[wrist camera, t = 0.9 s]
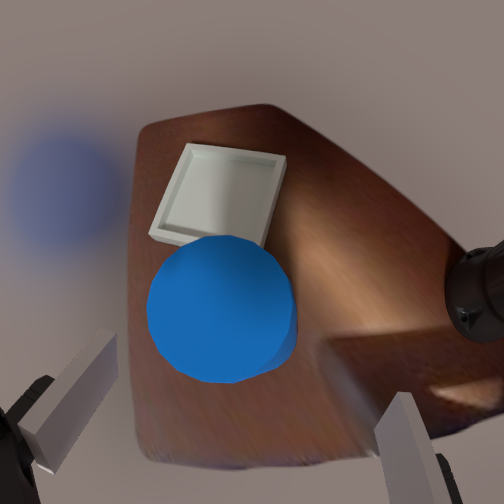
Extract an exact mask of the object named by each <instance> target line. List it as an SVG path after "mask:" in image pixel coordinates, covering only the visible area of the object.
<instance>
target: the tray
mask: <svg viewBox="0 0 504 504" xmlns="http://www.w3.org/2000/svg"><path fill="white" fill-rule="evenodd" d="M286 167H287V164H286V156H282V155H276V154H270V153H263V152H256V151H249V150H242V149H234V148H226V147H217V146H209V145H199V144H189V143H187V145H186V147H185V149H184V151H183V153H182V155H181V158H180V160H179V162H178V164H177V166H176V169H175V171H174V173H173V175H172V178H171V180H170V182H169V184H168V187H167V189H166V191H165V194H164V196H163V199H162V201H161V203H160V206H159V208H158V211H157V213H156V216H155V218H154V221H153V223H152V226H151V228H150V231H149V233H148V234H149V235H150V236H151V237H152V238H154V239H155V240H156V241H160V242H164V243H168V244H173V245H177V246H181V247H182V246H183V245H185V244H188V243H190V242H193V241H195V240H198V239H200V238H202V237H205V236H217V235H232V236H236V237H239V238H243V239H246V240H250V241H253V242H255V243H256V244H257V245H259V246H260V247H261V248H264V244H265V241H266V237H267V234H268V230H269V227H270V223H271V220H272V216H273V213H274V209H275V206H276V202H277V199H278V195H279V192H280V188H281V185H282V181H283V178H284V174H285V170H286Z"/></svg>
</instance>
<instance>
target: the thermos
mask: <svg viewBox="0 0 504 504" xmlns="http://www.w3.org/2000/svg"><path fill="white" fill-rule="evenodd" d="M147 316H148V326H149V331H150V334H151V336H152V338H153V340H154V342H155V344H156V346H157V348H158V351H159V353H160V354H161V355H162V356H163V357H164V358H165V359H166V360H167V361H168V362H169V363H170V364H171V365H172V366H173V367H174V368H176V369H177V370H178V371H180V372H182V373H184V374H187V375H189V376H191V377H193V378H196V379H198V380H201V381H204V382H213V383H236V382H239V381H242V380H245V379H248V378H251V377H253V376H256V375H259V374H262V373H264V372H267V371H270V370H272V369H275V368H277V367H279V366H280V365H281V364H282V363H283V362H285V361H286V360H287V359H288V358H289V356H290V355H291V353H292V351H293V349H294V348H295V346H296V340H297V334H298V325H297V309H296V304H295V299H294V294H293V290H292V285H291V282H290V280H289V279H288V277H287V276H286V274H285V273H284V271H283V270H282V268H281V267H280V265H279V263H278V262H277V261H276V259H275V258H274V257H273V256H272V255H271V254H269V253H268V252H267V251H265V250H264V249H263V248H261V247H260V246H259V245H257V244H256V243H255V242H253V241H250V240H246V239H243V238H239V237H236V236H232V235H217V236H205V237H202V238H200V239H198V240H195V241H193V242H190V243H188V244H185V245H183V246H182V247H181V248H180V249H178V250H177V251H176V252H175V253H174V254H173V255H171V256H170V257H169V258H168V259H167V260H166V261H165V262H164V263H163V265H162V266H161V268H160V270H159V271H158V273H157V275H156V276H155V278H154V280H153V281H152V284H151V288H150V293H149V297H148V302H147Z"/></svg>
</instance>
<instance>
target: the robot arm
mask: <svg viewBox="0 0 504 504" xmlns="http://www.w3.org/2000/svg"><path fill="white" fill-rule="evenodd" d="M445 297H446V306H447V310H448V313H449V316H450V319H451V321H452V323H453V324H454V326H455V328H456V329H457V330H458V331H459V332H460V333H461V334H462V335H463V336H464V337H465V338H467V339H468V340H470V341H473V342H476V343H488V342H493V341H497V340H499V339H501V338H503V337H504V240H503V241H502V242H500V243H499V244H498V245H496V246H495V247H485V248H477V249H474V250H471V251H469V252H468V253H466V254H465V255H464V256H462V257H461V258H460V259H459V260H458V261H457V262H456V263H455V264H454V265H453V267H452V269H451V271H450V273H449V275H448V279H447V283H446V291H445ZM116 341H117V338H116V333H115V332H113V331H109V330H107V329H104V328H101V329H100V330H99V332H98V333H97V334H96V335H95V336H94V337H93V338H92V339H91V340H90V341H89V342H88V344H87V345H86V346H85V347H84V348H83V349H82V350H81V351H80V352H79V353H78V354H77V356H76V357H75V358H74V359H73V360H72V361H71V362H70V363H69V364H68V366H67V367H66V368H65V369H64V370H63V371H62V372H61V374H60V375H59V376H58V377H57V378H56V379H54V378H52V377H50V376H48V375H45V376H43V377H41V378H39V379H37V380H36V381H35V382H34V383H33V384H32V385H31V386H30V387H29V389H27V390H26V392H25V393H24V394H23V396H21V397H20V398H19V399H18V400H17V402H16V403H15V404H14V405H13V406H12V407H11V408H10V409H9V410H8V412H7V413H6V414H5V413H4V411H3V410H2V409H1V407H0V504H41V503H40V499H39V496H38V491H37V487H36V483H35V479H34V475H33V470H32V467H31V463H32V462H33V460H34V459H35V461H36V463H37V464H38V466H39V467H41V468H42V469H44V470H46V471H48V472H49V473H51V474H53V475H55V474H56V472H57V470H58V469H59V467H60V466H61V464H62V462H63V461H64V459H65V458H66V456H67V454H68V453H69V451H70V450H71V448H72V447H73V445H74V443H75V442H76V440H77V439H78V437H79V436H80V434H81V432H82V431H83V429H84V427H85V426H86V425H87V423H88V422H89V420H90V418H91V417H92V416H93V414H94V412H95V411H96V409H97V408H98V406H99V405H100V403H101V402H102V400H103V399H104V397H105V396H106V394H107V393H108V391H109V390H110V388H111V387H112V385H113V384H114V382H115V381H116V379H117V378H118V364H117V342H116ZM374 432H375V436H376V440H377V444H378V449H379V453H380V457H381V462H382V466H383V471H384V475H385V480H386V485H387V490H388V495H389V500H390V504H463V503H462V500H461V497H460V494H459V491H458V488H457V485H456V482H455V480H454V479H453V478H454V477H453V474H452V472H451V469H450V466H449V463H448V461H447V460H446V459H445V457H444V456H443V455H442V454H441V453H440V454H435V452H434V449H433V447H432V444H431V441H430V439H429V436H428V434H427V431H426V429H425V426H424V423H423V421H422V418H421V416H420V414H419V411H418V409H417V406H416V404H415V401H414V399H413V397H412V394H411V393H407V392H397V394H396V396H395V397H394V399H393V401H392V402H391V404H390V405H389V407H388V409H387V410H386V412H385V413H384V415H383V417H382V418H381V420H380V421H379V423H378V424H377V426H376V427H375V429H374Z"/></svg>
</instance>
